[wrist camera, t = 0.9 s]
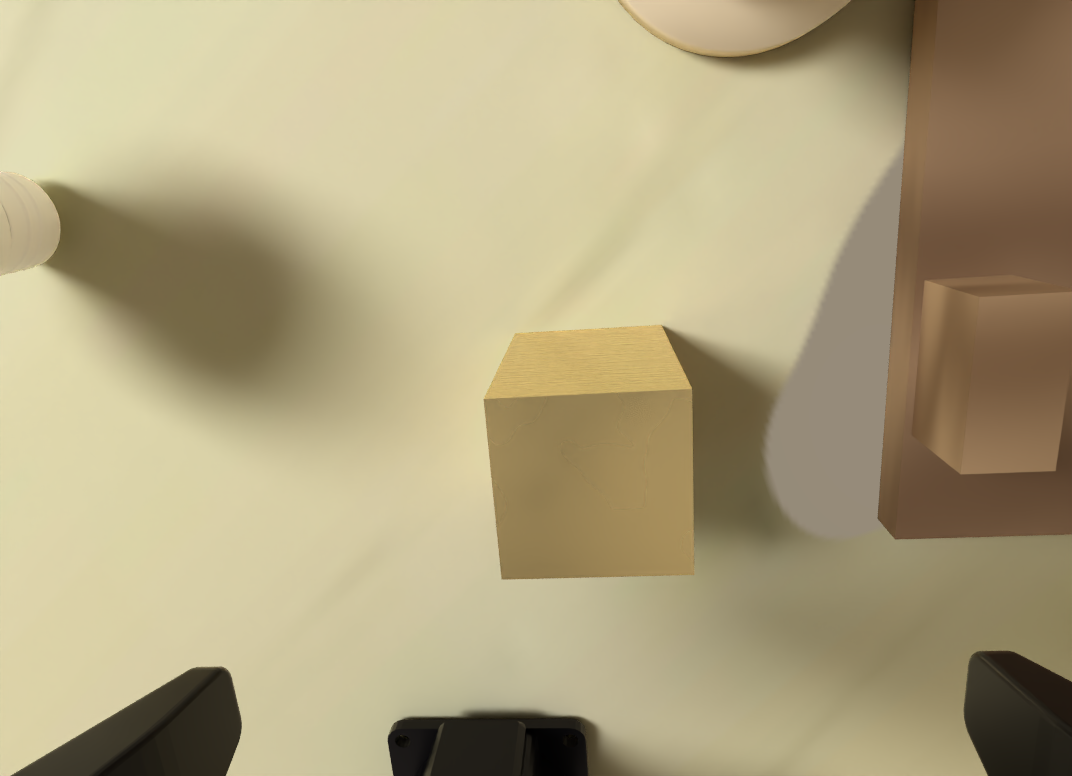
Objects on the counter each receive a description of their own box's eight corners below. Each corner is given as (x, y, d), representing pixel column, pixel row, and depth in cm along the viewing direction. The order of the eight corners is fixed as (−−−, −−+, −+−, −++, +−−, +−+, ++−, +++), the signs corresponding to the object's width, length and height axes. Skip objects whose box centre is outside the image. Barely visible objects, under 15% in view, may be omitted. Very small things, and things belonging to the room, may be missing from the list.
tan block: (664, 461, 20) (694, 574, 14) (526, 466, 20) (501, 579, 15) (661, 325, 19) (692, 389, 13) (515, 333, 19) (483, 398, 14)
